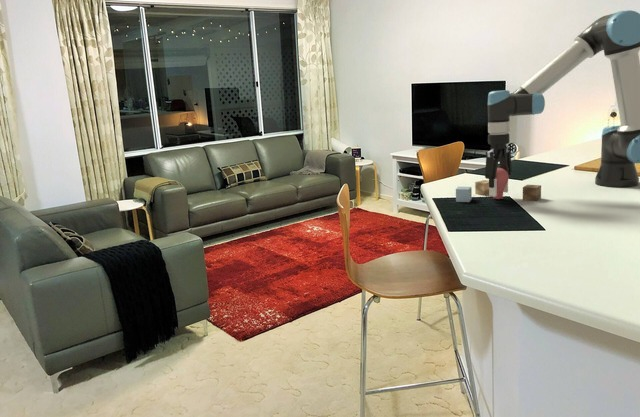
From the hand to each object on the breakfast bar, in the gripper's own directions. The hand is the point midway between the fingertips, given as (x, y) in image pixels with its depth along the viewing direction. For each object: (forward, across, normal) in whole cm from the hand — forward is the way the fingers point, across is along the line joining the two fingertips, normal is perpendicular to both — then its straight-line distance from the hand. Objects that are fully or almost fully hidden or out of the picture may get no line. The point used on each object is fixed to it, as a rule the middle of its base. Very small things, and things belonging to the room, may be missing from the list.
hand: (498, 193), depth 194 cm
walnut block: (+2, -6, +10) cm, 12 cm away
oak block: (+2, -6, -10) cm, 12 cm away
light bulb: (+2, 0, 0) cm, 2 cm away
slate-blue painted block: (+2, +8, -10) cm, 13 cm away
